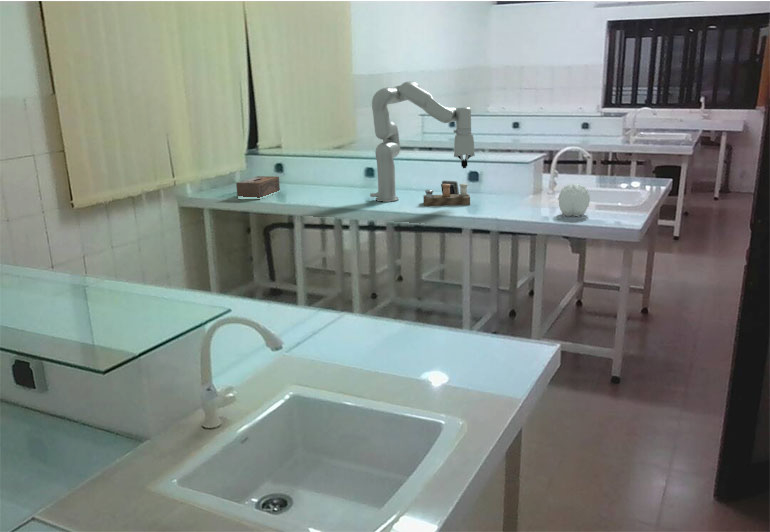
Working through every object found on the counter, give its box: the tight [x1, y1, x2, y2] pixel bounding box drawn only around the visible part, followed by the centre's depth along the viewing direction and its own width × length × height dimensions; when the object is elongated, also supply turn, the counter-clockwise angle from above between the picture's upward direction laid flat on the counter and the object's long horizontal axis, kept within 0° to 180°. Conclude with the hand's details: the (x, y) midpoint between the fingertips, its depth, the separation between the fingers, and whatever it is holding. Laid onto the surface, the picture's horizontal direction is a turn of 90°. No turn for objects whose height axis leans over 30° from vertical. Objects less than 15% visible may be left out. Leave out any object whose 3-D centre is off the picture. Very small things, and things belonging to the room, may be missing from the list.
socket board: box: [423, 193, 471, 207], centre depth 344 cm, size 24×10×4 cm, turn 88°
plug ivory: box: [459, 183, 469, 197], centre depth 342 cm, size 4×4×7 cm
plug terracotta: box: [441, 183, 450, 197], centre depth 343 cm, size 4×4×7 cm
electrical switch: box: [440, 180, 460, 195], centre depth 362 cm, size 9×5×9 cm, turn 57°
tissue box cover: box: [235, 175, 281, 198], centre depth 387 cm, size 26×14×10 cm, turn 162°
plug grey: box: [425, 189, 434, 197], centre depth 344 cm, size 4×4×7 cm
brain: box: [557, 183, 591, 217], centre depth 307 cm, size 14×18×18 cm
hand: (464, 167), depth 339 cm, fingers closed
